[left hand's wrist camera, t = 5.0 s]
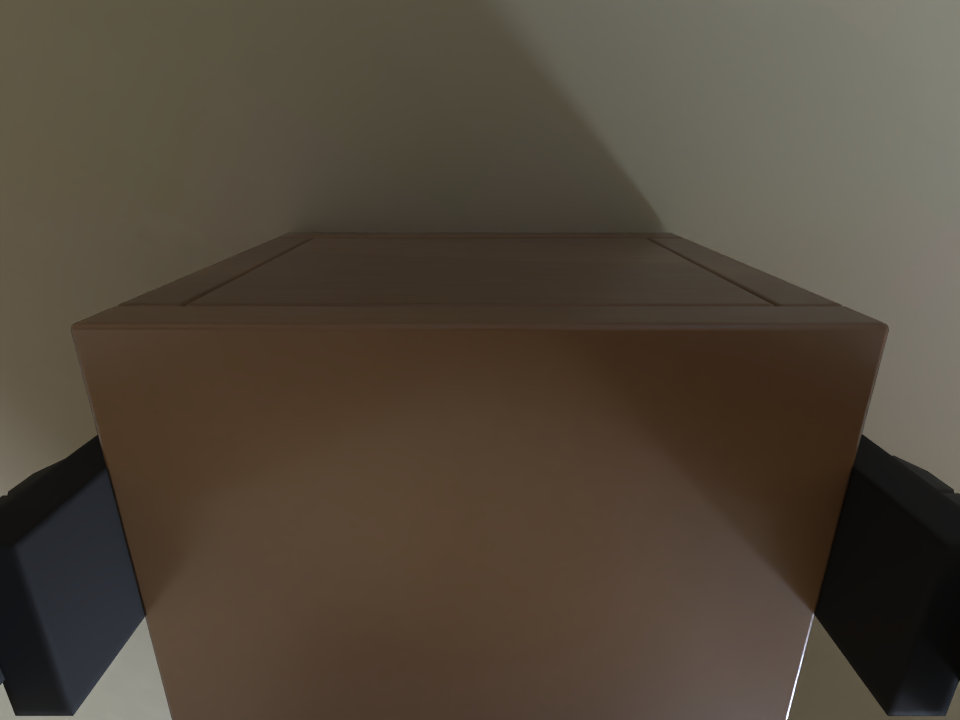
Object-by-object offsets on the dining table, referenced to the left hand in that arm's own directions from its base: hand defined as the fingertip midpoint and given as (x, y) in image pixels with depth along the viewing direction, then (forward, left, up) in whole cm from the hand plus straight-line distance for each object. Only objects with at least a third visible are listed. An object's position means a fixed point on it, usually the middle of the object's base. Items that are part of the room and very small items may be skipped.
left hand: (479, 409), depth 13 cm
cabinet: (+4, -4, -4) cm, 7 cm away
